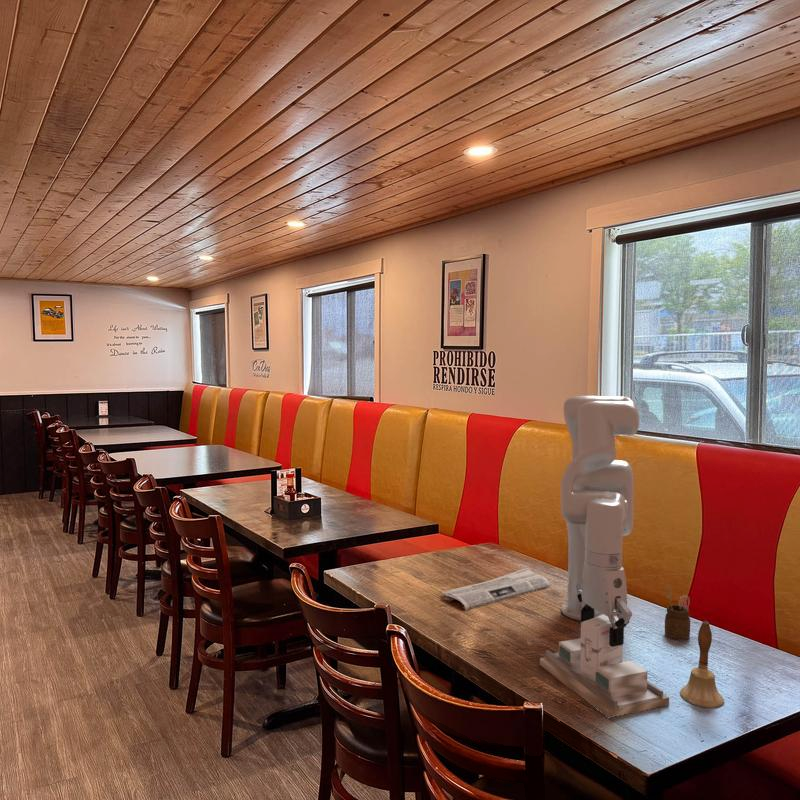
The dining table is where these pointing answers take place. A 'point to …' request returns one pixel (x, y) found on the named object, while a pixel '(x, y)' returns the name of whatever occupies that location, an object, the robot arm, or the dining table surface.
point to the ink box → (597, 646)
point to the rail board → (605, 682)
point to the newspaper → (497, 588)
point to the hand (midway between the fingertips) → (601, 635)
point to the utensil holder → (677, 619)
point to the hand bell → (702, 676)
